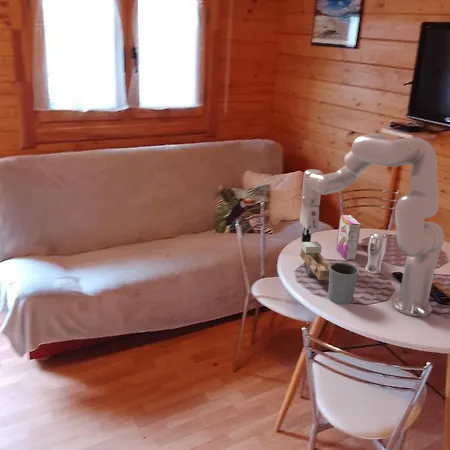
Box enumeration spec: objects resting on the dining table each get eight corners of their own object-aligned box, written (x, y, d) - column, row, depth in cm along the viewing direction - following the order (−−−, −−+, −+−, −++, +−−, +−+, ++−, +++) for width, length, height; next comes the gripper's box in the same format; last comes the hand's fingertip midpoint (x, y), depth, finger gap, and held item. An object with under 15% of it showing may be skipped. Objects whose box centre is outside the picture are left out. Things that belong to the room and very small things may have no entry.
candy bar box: (335, 249, 220) (340, 214, 214) (346, 249, 221) (351, 214, 215) (345, 260, 209) (350, 223, 204) (356, 260, 210) (361, 223, 204)
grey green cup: (339, 308, 171) (344, 276, 167) (319, 295, 179) (323, 265, 175) (360, 301, 176) (365, 270, 172) (340, 289, 184) (344, 259, 180)
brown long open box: (334, 286, 186) (336, 270, 184) (316, 287, 185) (318, 271, 183) (314, 261, 206) (315, 247, 204) (298, 262, 205) (299, 247, 203)
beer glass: (382, 275, 197) (388, 240, 192) (364, 272, 199) (370, 238, 193) (381, 267, 204) (386, 234, 199) (363, 265, 205) (369, 232, 200)
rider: (320, 257, 199) (321, 246, 197) (305, 258, 198) (306, 246, 196) (316, 252, 203) (317, 241, 202) (301, 253, 202) (302, 242, 200)
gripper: (326, 206, 193) (320, 249, 200) (313, 194, 207) (308, 235, 213) (307, 206, 192) (303, 250, 198) (295, 195, 206) (291, 236, 212)
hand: (305, 242), depth 206 cm, fingers closed
